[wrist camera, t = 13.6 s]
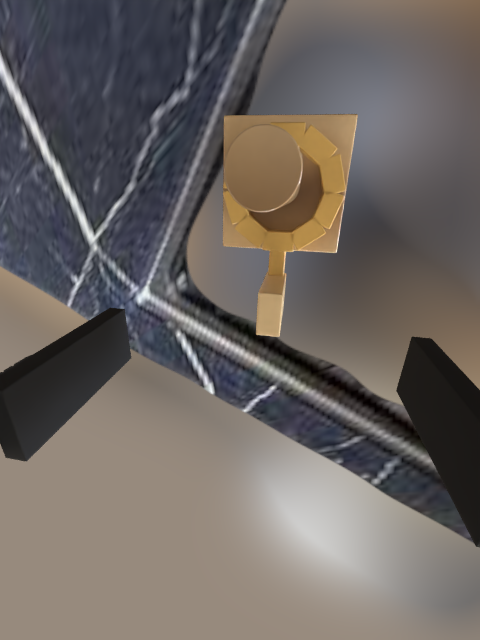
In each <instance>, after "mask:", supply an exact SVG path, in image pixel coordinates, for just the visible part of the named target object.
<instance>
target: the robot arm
mask: <svg viewBox="0 0 480 640" xmlns="http://www.w3.org/2000/svg"><path fill="white" fill-rule="evenodd" d="M129 359H131V353H130V345H129V338H128V331H127V323H126V316H125V309H117V308H109V309H107V310H106V311H104V312H102V313H101V314H99V315H98V316H96V317H94V318H93V319H91V320H89V321H88V322H86V323H84V324H83V325H81V326H79V327H78V328H76V329H74V330H73V331H71V332H70V333H68V334H66V335H65V336H63V337H61V338H60V339H58V340H56V341H55V342H53V343H51V344H50V345H48V346H46V347H45V348H43V349H42V350H40V351H38V352H36V353H35V354H33V355H31V356H28V357H26V358H24V359H22V360H21V361H19V362H17V363H16V364H14V366H11V367H9V368H7V369H6V370H4V372H1V373H0V444H1V446H2V449H3V452H4V454H5V457H6V458H11V459H16V460H21V461H27V460H28V459H29V458H30V457H31V456H32V455H33V454H34V453H35V452H37V451H38V450H39V449H40V448H41V447H42V446H43V445H44V444H45V443H46V442H47V441H48V440H49V439H50V438H51V437H52V436H53V435H54V434H55V433H56V432H57V431H58V430H59V429H60V428H61V427H62V426H63V425H64V424H65V423H66V422H67V421H68V420H69V419H70V418H71V417H72V416H73V415H74V414H75V413H76V412H77V411H78V410H79V409H80V408H81V407H82V406H83V405H84V404H85V403H86V402H87V401H88V400H89V399H90V398H91V397H92V396H93V395H94V394H95V393H96V392H97V391H98V390H99V389H100V388H101V387H102V386H103V385H104V384H105V383H106V382H107V381H108V380H109V379H110V378H111V377H113V375H115V373H116V372H118V371H119V370H120V369H121V367H123V366H124V365H125V364H126V363H127V362H128V361H129ZM397 393H398V395H399V397H400V398H401V400H402V402H403V404H404V406H405V408H406V410H407V412H408V414H409V416H410V418H411V420H412V422H413V424H414V426H415V428H416V430H417V432H418V434H419V436H420V438H421V440H422V442H423V444H424V446H425V448H426V450H427V451H428V453H429V455H430V457H431V459H432V461H433V463H434V465H435V467H436V469H437V471H438V473H439V475H440V477H441V479H442V481H443V483H444V485H445V487H446V489H447V491H448V493H449V495H450V497H451V498H452V500H453V502H454V504H455V506H456V508H457V510H458V512H459V514H460V516H461V518H462V520H463V522H464V524H465V526H466V528H467V530H468V532H469V534H470V536H471V538H472V540H473V542H474V544H475V545H476V547H480V390H479V389H478V388H477V387H476V386H475V385H474V383H473V382H472V381H471V380H470V379H469V378H468V377H467V376H466V375H465V374H464V373H463V372H462V371H461V370H460V369H459V368H458V366H457V365H456V364H455V363H454V362H453V361H452V360H451V359H450V358H449V357H448V356H447V355H446V354H445V353H444V352H443V350H442V349H441V348H440V347H439V346H438V345H437V344H436V343H435V342H434V341H433V340H432V339H430V338H420V337H412V338H411V341H410V345H409V348H408V352H407V355H406V359H405V362H404V366H403V369H402V372H401V376H400V379H399V383H398V387H397Z"/></svg>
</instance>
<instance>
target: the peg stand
mask: <svg viewBox="0 0 480 640" xmlns="http://www.w3.org/2000/svg"><path fill="white" fill-rule="evenodd" d="M357 117H358V115H357V114H325V115H228V116H224V181H223V184H224V182H225V183H226V186H227V189H226V188H224V187H223V190H224V191H223V192H225V191H229V193H230V194H231V196H232V197H233V199H234V200H235V201H236V202H237V203H238V204H239V205H241V206H242V207H244V208H245V209H248V210H250V212H251V215H252V216H253V217H255V218H256V219H257V220H258V221H259V222H260V223H262V224H263V225H264V226H265V227H266V228H268V229H269V230H288V231H292V230H293V229H295V228H296V227H298V226H299V225H301V224H302V223H304V222H306V221H307V220H309V219H310V218H312V216H313V214H314V212H315V209H316V207H317V205H318V203H319V200H320V198H321V196H322V194H323V192H322V187H321V181H320V175H319V170H318V167H317V166H316V165H315V164H314V163H313V162H312V161H311V160H310V159H309V158H307V157H306V156H305V155H304V154H303V153H302V152H301V151H300V149H299V147H298V145H297V143H296V141H295V140H294V138H293V137H292V136H291V135H290V134H289V133H288V132H287V131H285V130H284V129H282V128H280V127H278V126H275V125H271V124H270V123H271V122H305V123H306V126H305V131H306V130H307V129H308V127H309V126H310V125H313V126H314V127H315V128H316V129H317V130H318V131H319V132H320V133H321V134H323V135H324V136H325V137H326V138H327V139H328V140H329V141H330V142H331V143H332V144H333V145H335V146H336V147H337V150H336V151H335V153H334V154H333V155H332V156H334V155H337V154H340V155H341V161H342V167H343V174H344V181H345V187H347V181H348V175H349V168H350V162H351V156H352V149H353V143H354V137H355V129H356V124H357ZM338 194H341V195H343V196H345V194H346V190H345V191H343V192H340V193H338ZM344 201H345V198H344V200H343V202H342V204H341V206H340V208H339V210H338V212H337V215H336V217H335V219H334V221H333V223H332V225H331V227H330V229H328V228H325V227H323V226H322V227H323V229H324V230H325V232H326V233H325V234H324V235H322V236H321V237H319V238H318V239H316V240H314V241H313V242H311V243H309V244H308V245H306V246H305V247H303V248H301V249H300V250H297V249H296V247H295V245H294V248H293V250H296V251H313V252H330V253H336V252H337V246H338V240H339V233H340V226H341V221H342V214H343V208H344ZM237 224H238V223H235V224H232V223H231V220H230V216H229V213H228V209H227V206H226V202H225V199H224V195H223V246H229V247H245V248H257V247H256V246H255V245H253V244H252V243H251V242H250V241H249V240H247V239H246V238H245V237H244V236H243V235H241V234H240V233H239V232H238V231H237V230H235V227H236V226H237ZM259 248H263V243H262V244H261V245H260V247H259Z"/></svg>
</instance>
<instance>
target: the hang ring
mask: <svg viewBox="0 0 480 640" xmlns="http://www.w3.org/2000/svg"><path fill="white" fill-rule="evenodd" d="M270 124H271V125H275V126H278V127H280V128H282V129H284V130H285V131H287V132H288V133H289V134H290V135H291V136H292V137H293V138H294V140H295V141H296V143H297V145H298V147H299V149H300V151H301V152H302V153H303V154H304V155H305V156H306V157H307V158H309V159H310V160H311V161H312V162H313V163H314V164H315V165H316V166H317V167H318V170H319V175H320V181H321V187H322V192H323V194H322V196H321V198H320V200H319V203H318V205H317V207H316V209H315V212H314V214H313V216H312V218H310V219H309V220H307V221H306V222H304V223H302V224H301V225H299V226H298V227H296V228H295V229H293V230H292V231H288V230H269V229H268V228H266V227H265V226H264V225H263V224H262V223H260V222H259V221H258V220H257V219H256V218H255V217H253V216H252V215H251V212H250V210H248V209H245V208H244V207H242V206H241V205H239V204H238V203H237V202H236V201H235V200H234V199H233V197H232V196H231V194H230V193H229V191H225V192H223V195H224V199H225V202H226V206H227V209H228V213H229V216H230V220H231V223H232V224H235V223H238V224H237V226H236V227H235V230H237V231H238V232H239V233H240V234H241V235H243V236H244V237H245V238H246V239H247V240H249V241H250V242H251V243H252V244H253V245H255V246H256V247H257V248H259V247H260V245H261V244H262V243H263V248H262V249H263V250H269V251H270V255H269V270H268V272H267V273H266V276H265V278H264V281H263V283H262V286H261V288H260V290H259V293H258V305H257V322H256V334H257V335H266V336H276V337H279V336H280V329H281V321H282V314H283V305H284V294H285V284H286V273H284V268H285V257H286V252H293V248H294V245H295V247H296V249H297V250H300V249H301V248H303V247H305V246H306V245H308V244H309V243H311V242H313V241H314V240H316V239H318V238H319V237H321V236H322V235H324V234H325V233H326V232H325V230H324V229H323V227H325V228H328V229H330V227H331V225H332V223H333V221H334V219H335V217H336V215H337V212H338V210H339V208H340V206H341V204H342V202H343V200H344V198H345V196H343V195H341V194H338V193H340V192H343V191H345V190H346V187H345V181H344V174H343V167H342V161H341V155H340V154H337V155H334V156H332V155H333V154H334V153H335V151H336V150H337V147H336V146H335V145H333V144H332V143H331V142H330V141H329V140H328V139H327V138H326V137H325V136H324V135H323V134H321V133H320V132H319V131H318V130H317V129H316V128H315V127H314V126H313V125H310V126H309V127H308V129H307V130H306V131H305V126H306V123H305V122H271V123H270ZM223 187H224V188H226V189H227V186H226V183H225V182H224V185H223ZM322 226H323V227H322Z"/></svg>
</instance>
